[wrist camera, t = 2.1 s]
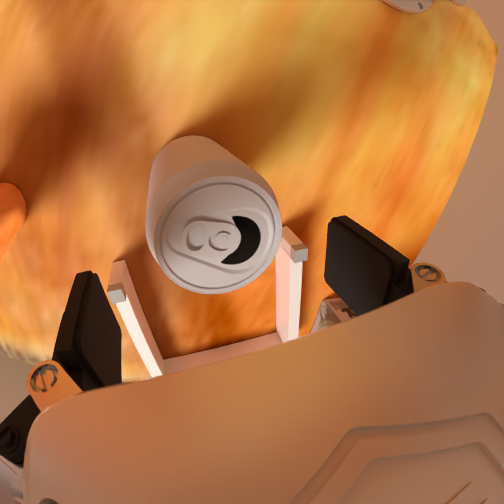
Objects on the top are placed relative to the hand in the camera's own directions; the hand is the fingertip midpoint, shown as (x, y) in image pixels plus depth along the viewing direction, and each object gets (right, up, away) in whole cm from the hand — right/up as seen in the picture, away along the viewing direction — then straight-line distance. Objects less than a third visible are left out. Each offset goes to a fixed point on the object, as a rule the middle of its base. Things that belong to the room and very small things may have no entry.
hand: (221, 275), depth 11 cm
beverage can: (-4, +7, +11) cm, 14 cm away
